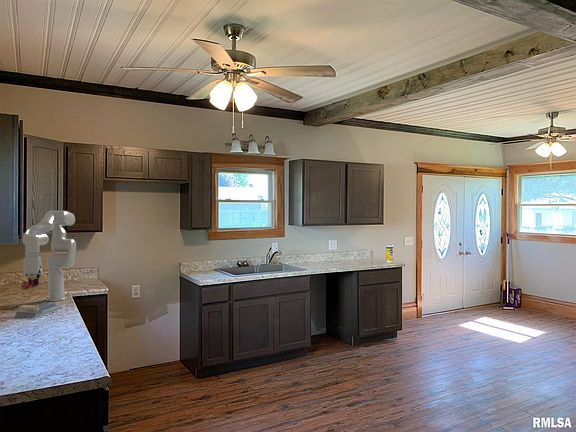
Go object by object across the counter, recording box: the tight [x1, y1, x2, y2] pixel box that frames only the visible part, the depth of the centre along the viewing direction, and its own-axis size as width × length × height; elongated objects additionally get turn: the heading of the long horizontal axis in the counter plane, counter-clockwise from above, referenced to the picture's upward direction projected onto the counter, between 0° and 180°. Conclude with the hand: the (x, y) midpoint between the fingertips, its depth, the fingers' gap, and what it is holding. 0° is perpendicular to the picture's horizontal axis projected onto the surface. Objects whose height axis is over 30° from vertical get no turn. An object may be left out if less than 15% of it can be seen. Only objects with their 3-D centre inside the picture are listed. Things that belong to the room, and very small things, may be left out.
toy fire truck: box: [20, 273, 40, 290], centre depth 266 cm, size 3×14×10 cm, turn 166°
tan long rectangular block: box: [18, 304, 39, 313], centre depth 258 cm, size 4×10×4 cm, turn 81°
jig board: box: [14, 301, 63, 318], centre depth 266 cm, size 23×14×4 cm, turn 171°
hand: (33, 284), depth 267 cm, fingers closed on toy fire truck, 3 cm apart
